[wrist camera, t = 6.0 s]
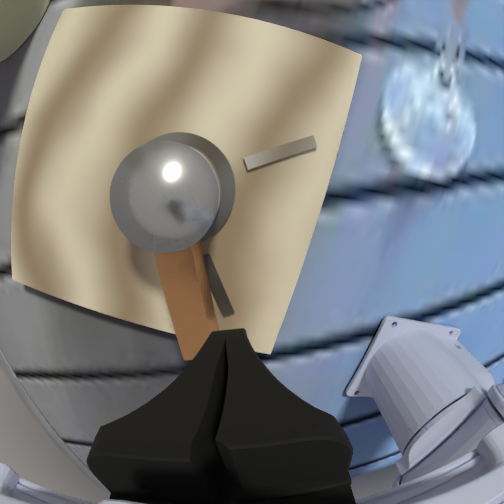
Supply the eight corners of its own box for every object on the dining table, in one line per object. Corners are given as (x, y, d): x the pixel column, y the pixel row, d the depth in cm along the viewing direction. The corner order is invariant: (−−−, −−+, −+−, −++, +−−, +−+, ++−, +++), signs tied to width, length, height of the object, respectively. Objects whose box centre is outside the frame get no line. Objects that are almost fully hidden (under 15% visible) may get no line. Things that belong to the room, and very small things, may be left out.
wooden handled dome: (125, 155, 15) (101, 155, 12) (214, 136, 15) (208, 130, 12) (167, 333, 18) (156, 363, 15) (244, 323, 18) (246, 354, 15)
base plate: (353, 62, 15) (363, 54, 14) (268, 342, 21) (270, 356, 19) (73, 16, 13) (62, 8, 11) (22, 272, 18) (11, 280, 16)
